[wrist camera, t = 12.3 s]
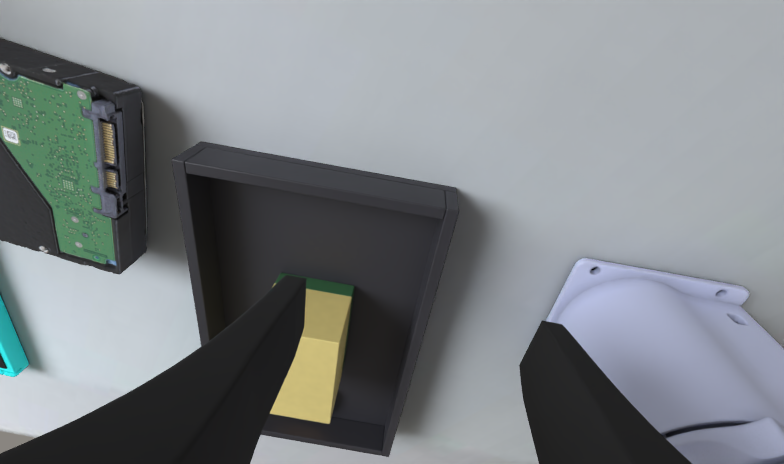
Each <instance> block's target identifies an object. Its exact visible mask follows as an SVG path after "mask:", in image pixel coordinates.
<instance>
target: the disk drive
mask: <svg viewBox="0 0 784 464" xmlns="http://www.w3.org/2000/svg"><path fill="white" fill-rule="evenodd" d="M141 97H142V92H141V89H140V88H139V87H138V86H136V85H133V84H129V83H127V82H125V81H124V80H121V79H118V78H115V77H113V76H110V75H107V74H104V73H101V72H98V71H95V70H92V69H89V68H86V67H84V66H80V65H78V64H75V63H72V62H69V61H66V60H63V59H60V58H57V57H54V56H51V55H48V54H45V53H42V52H39V51H36V50H34V49H31V48H28V47H25V46H22V45H19V44H16V43H13V42H10V41H7V40H4V39H0V240H2V241H6V242H9V243H12V244H15V245H20V246H22V247H27V248H29V249H32V250H35V251H42V252H44V253H47V254H50V255H54V256H57V257H60V258H62V259H65V260H68V261H72V262H75V263H78V264H82V265H89V266H93V267H95V268H98V269H101V270H104V271H108V272H113V273H116V274H121V273H122V272H123V271H124V270H126V269H127V268H128V267H129V266H130V265H132V264H133V263H134V262H135V261H136V260H137V259H138V258H139V257H140V256H142V255H143V254H144V253H145V252H146V250H147V247H146V235H147V209H146V180H145V142H144V139H145V137H144V115H143V114H144V111H143V102H142V101H141Z"/></svg>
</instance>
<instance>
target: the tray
mask: <svg viewBox="0 0 784 464" xmlns="http://www.w3.org/2000/svg"><path fill="white" fill-rule="evenodd" d="M172 166H173V172H174V178H175V184H176V191H177V197H178V203H179V209H180V216H181V222H182V228H183V234H184V240H185V247H186V253H187V259H188V265H189V271H190V278H191V284H192V290H193V296H194V302H195V309H196V315H197V321H198V327H199V334H200V340H201V346H203V345H204V344H206V343H207V342H209V341H210V340H211V339H212V338H214V337H215V336H216V335H218V334H219V333H220V332H221V331H223V330H224V329H225V328H227V327H228V326H229V325H230V324H232V323H233V322H234V321H235V320H237V319H238V318H239V317H240V316H241V315H242V314H244V313H245V312H246V311H247V310H248V309H249V308H250V307H252V306H253V305H254V304H255V303H256V302H257V301H258V300H259V299H261V298H262V297H263V296H264V295H265V294H266V293H267V292H268V291H269V290H270V289H271V288H272V287H273V285H274V283H275V282H276V280H277V278H278V276H279V275H280V273H286V274H292V275H297V276H303V277H308V278H314V279H319V280H325V281H331V282H336V283H342V284H347V285H353V286H355V289H354V296H353V304H352V311H351V318H350V326H349V333H348V340H347V348H346V355H345V362H344V367H343V371H342V375H341V379H340V384H339V388H338V392H337V396H336V400H335V405H334V409H333V413H332V417H331V422H330V424H326V423H321V422H315V421H309V420H303V419H298V418H292V417H286V416H281V415H275V414H269V416H268V418H267V420H266V423H265V425H264V427H263V430H262V432H261V435H266V436H272V437H278V438H284V439H289V440H295V441H301V442H306V443H312V444H318V445H324V446H329V447H335V448H341V449H346V450H352V451H358V452H364V453H369V454H375V455H382V456H386V457H389V455H390V451H391V448H392V444H393V441H394V437H395V434H396V430H397V427H398V423H399V420H400V416H401V413H402V409H403V406H404V402H405V399H406V395H407V392H408V388H409V385H410V381H411V378H412V374H413V371H414V367H415V364H416V360H417V357H418V353H419V350H420V346H421V343H422V339H423V336H424V332H425V329H426V326H427V322H428V319H429V315H430V312H431V308H432V305H433V301H434V298H435V294H436V291H437V287H438V284H439V280H440V277H441V273H442V270H443V266H444V263H445V259H446V256H447V252H448V249H449V245H450V242H451V238H452V235H453V231H454V228H455V224H456V221H457V217H458V214H459V208H458V201H457V194H456V188H454V187H449V186H443V185H438V184H432V183H427V182H421V181H416V180H410V179H405V178H399V177H394V176H388V175H382V174H377V173H371V172H366V171H360V170H355V169H349V168H344V167H338V166H333V165H327V164H322V163H316V162H311V161H305V160H300V159H294V158H289V157H283V156H278V155H272V154H267V153H261V152H256V151H250V150H244V149H239V148H233V147H228V146H222V145H217V144H211V143H206V142H199V143H198V144H196V145H195V146H193V147H191V148H190V149H188V150H186V151H185V152H183V153H181V154H180V155H178V156H176V157H175V158H173V159H172Z"/></svg>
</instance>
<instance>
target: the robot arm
mask: <svg viewBox="0 0 784 464" xmlns="http://www.w3.org/2000/svg"><path fill="white" fill-rule="evenodd" d="M594 267H597V268H596V269H595V270H591V269H592V268H594ZM306 280H307V278H301V277H296V276H290V275H286V276H284V277H283V278H282V279H281V280H280V281H279V282H278V283H276V284H275V285H274V286H273V287H272V288H271V289H270V290H269V291H268V292H267V293H266V294H265V295H264V296H263V297H262V298H261V299H259V300H258V301H257V302H256V303H255V304H254V305H253V306H252V307H250V308H249V309H248V310H247V311H246V312H245V313H244V314H242V315H241V316H240V317H239V318H238V319H237V320H235V321H234V322H233V323H232V324H230V325H229V326H228V327H227V328H225V329H224V330H223V331H221V332H220V333H219V334H218V335H216V336H215V337H214V338H212V339H211V340H210V341H209V342H207V343H206V344H204V345H203V346H202V347H200V348H199V349H197V350H196V351H195V352H193V353H192V354H190V355H189V356H187V357H186V358H184V359H183V360H181V361H180V362H178V363H177V364H175V365H174V366H172V367H171V368H169V369H167V370H166V371H164V372H162V373H161V374H159V375H158V376H156V377H154V378H153V379H151V380H149V381H148V382H146V383H144V384H143V385H141V386H139V387H137V388H136V389H134V390H132V391H130V392H129V393H127V394H125V395H123V396H121V397H119V398H117V399H115V400H114V401H112V402H110V403H108V404H106V405H104V406H102V407H100V408H98V409H96V410H94V411H92V412H91V413H89V414H87V415H85V416H83V417H81V418H79V419H77V420H75V421H73V422H70V423H68V424H66V425H64V426H62V427H60V428H57V429H55V430H53V431H51V432H48V433H46V434H44V435H42V436H40V437H37V438H35V439H33V440H31V441H28V442H26V443H24V444H22V445H19V446H17V447H15V448H12V449H10V450H8V451H5V452H3V453H1V454H0V464H250V462H251V459H252V456H253V453H254V450H255V447H256V445H257V442H258V439H259V437H260V434H261V432H262V430H263V427H264V425H265V423H266V420H267V418H268V416H269V414H270V412H271V409H272V407H273V405H274V403H275V400H276V398H277V396H278V394H279V392H280V389H281V387H282V385H283V383H284V380H285V378H286V376H287V374H288V371H289V369H290V367H291V365H292V362H293V360H294V358H295V355H296V352H297V349H298V346H299V342H300V339H301V336H302V333H303V329H304V323H305V301H306ZM720 290H721V291H720ZM718 291H719V292H718ZM748 297H749V292H748V290H747V289H745V288H744V287H743V286H739V285H733V284H728V283H722V282H717V281H711V280H706V279H700V278H695V277H689V276H683V275H678V274H672V273H667V272H661V271H656V270H650V269H645V268H639V267H634V266H628V265H622V264H617V263H611V262H606V261H600V260H595V259H589V258H583V259H580V260H578V261H577V262H576V263H575V265H574V267H573V269H572V271H571V273H570V275H569V277H568V279H567V280H566V282H565V284H564V286H563V288H562V290H561V292H560V294H559V296H558V298H557V300H556V302H555V304H554V306H553V308H552V310H551V312H550V313H549V315H548V317H547V319H546V321H542V322H541V324H540V326H539V328H538V330H537V332H536V334H535V336H534V338H533V339H532V341H531V343H530V345H529V347H528V349H527V351H526V353H525V355H524V357H523V359H522V361H521V363H520V376H521V385H522V393H523V399H524V404H525V408H526V412H527V416H528V421H529V425H530V429H531V433H532V437H533V441H534V445H535V449H536V453H537V457H538V461H539V464H784V348H783V347H782V346H781V345H780V344H779V343H778V342H777V341H776V340H775V339H774V338H773V337H772V336H771V335H770V334H769V333H768V332H766V331H765V330H764V329H763V328H762V327H761V326H760V325H759V324H758V323H757V322H756V321H755V320H754V319H753V318H752V317H751V316H750V315H749V314H748V313H747V312H746V311H745V310H744V309H743V308H742V307H741V305H742V304H743V303H744V302H745V301H746V300H747V298H748Z"/></svg>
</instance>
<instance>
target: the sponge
mask: <svg viewBox="0 0 784 464" xmlns="http://www.w3.org/2000/svg"><path fill="white" fill-rule="evenodd" d="M286 275H290V276H296V277H301V278H307V280H306V301H305V323H304V329H303V333H302V336H301V339H300V342H299V346H298V349H297V352H296V355H295V358H294V360H293V362H292V365H291V367H290V369H289V371H288V374H287V376H286V378H285V380H284V383H283V385H282V387H281V389H280V392H279V394H278V396H277V398H276V400H275V403H274V405H273V407H272V409H271V412H270V414H275V415H281V416H286V417H292V418H298V419H303V420H309V421H315V422H321V423H326V424H330V422H331V417H332V413H333V409H334V405H335V400H336V396H337V392H338V388H339V384H340V379H341V375H342V371H343V367H344V362H345V355H346V348H347V340H348V333H349V326H350V318H351V311H352V304H353V296H354V289H355V286H353V285H347V284H342V283H336V282H331V281H325V280H319V279H314V278H308V277H303V276H297V275H292V274H286V273H280V275H279V276H278V278H277V280H276V282H275V283H274V285H275V284H276V283H278V282H279V281H280V280H281V279H282V278H283V277H284V276H286ZM274 285H273V286H274Z"/></svg>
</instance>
